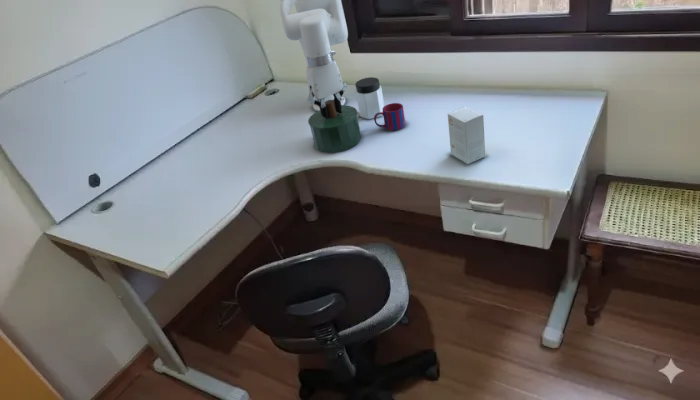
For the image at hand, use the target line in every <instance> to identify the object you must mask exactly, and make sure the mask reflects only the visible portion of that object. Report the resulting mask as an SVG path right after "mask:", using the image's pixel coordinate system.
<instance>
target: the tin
mask: <svg viewBox="0 0 700 400" xmlns="http://www.w3.org/2000/svg"><path fill="white" fill-rule="evenodd" d="M309 128H310V132H311V135H312V140H313V144H314V147H315V148H316V150H317V151H319V152H321V153H324V154H325V153H326V154H334V153H341V152H344V151H347V150H350V149H352V148H354V147H355V146H357V145H358V144H360V141H361V140H362V135H361V129H360V125H359V119H358V116H357V117H356V118H355V119H354V120H353V121H352V122H350V123H349V124H347V125H344V126H341V127H338V128H334V129H327V130H320V129H315V128H312V127H311V126H310V125H309Z"/></svg>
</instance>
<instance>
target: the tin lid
mask: <svg viewBox="0 0 700 400" xmlns="http://www.w3.org/2000/svg"><path fill="white" fill-rule="evenodd" d="M325 106H326V107H327V111H328V115H329V118H328V119H326V118H325V117H323V116H322V115H321V111H320V110H319V111H316V112H314V113H312V114H311V115H310V116H309V118H308V121H307V123H308V125H309V127H310V126H311V127H312V128H315V129H320V130H327V129H334V128H338V127H341V126H344V125H347V124H349V123H350V122H352V121H353V120H354V119H355V118H356V117H357V118H358V114H359V113H358V110H357V109H356V107H354V106H351V105H345V104H344V105H341V107H342V109H341V111H342V113H338V112H336V107H335V103H334V100H328V101H326V102H325Z"/></svg>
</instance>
